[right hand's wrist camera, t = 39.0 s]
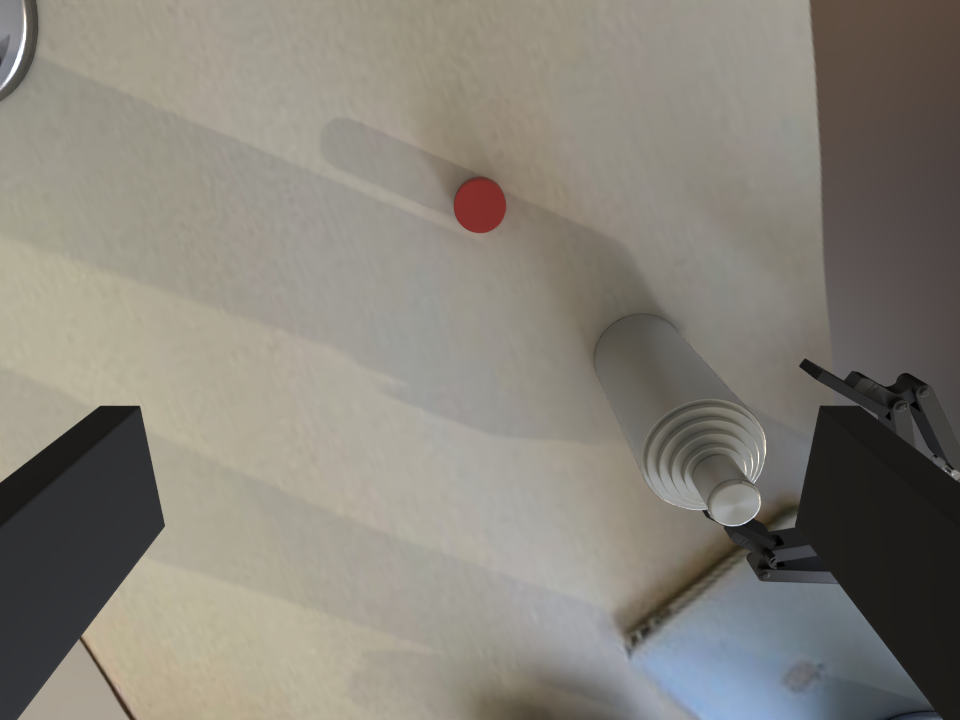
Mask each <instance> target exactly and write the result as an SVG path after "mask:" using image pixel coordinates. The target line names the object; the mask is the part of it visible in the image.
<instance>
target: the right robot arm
mask: <svg viewBox="0 0 960 720" xmlns="http://www.w3.org/2000/svg"><path fill="white" fill-rule="evenodd" d="M37 36H38V14H37V6H36V0H0V101H1V100H3V99H4V98H6V97H7V96H8V95H9V94H11V93H12V92H13V91H14V90H15V89H16V88H17V87H18V85H19V84H20V83H21V81H22V80H23V79H24V77H25V75H26V73H27V72H28V70H29V67H30V65H31V63H32V60H33V57H34V53H35V49H36V44H37ZM164 527H165V524H164V519H163V514H162V509H161V505H160V500H159V495H158V490H157V485H156V480H155V476H154V471H153V466H152V461H151V456H150V452H149V447H148V442H147V437H146V432H145V427H144V423H143V418H142V413H141V408H140V406H99V407H98V408H97V409H96V410H94V411H93V412H92V413H90V414H89V415H88V416H86V417H85V418H84V419H83V420H81V421H80V422H79V423H77V424H76V425H75V426H73V427H72V428H71V429H70V430H68V431H67V432H66V433H64V434H63V435H62V436H60V437H59V438H58V439H57V440H55V441H54V442H53V443H51V444H50V445H49V446H47V447H46V448H45V449H44V450H42V451H41V452H40V453H38V454H37V455H36V456H34V457H33V458H32V459H31V460H29V461H28V462H27V463H25V464H24V465H23V466H22V467H20V468H19V469H18V470H16V471H15V472H14V473H12V474H11V475H10V476H9V477H7V478H6V479H5V480H3V481H2V482H1V483H0V720H17V719H18V718H19V717H20V715H21V714H22V713H23V711H24V710H25V709H26V707H27V706H28V705H29V703H30V702H31V701H32V699H33V698H34V697H35V696H36V694H37V693H38V692H39V690H40V689H41V688H42V686H43V685H44V684H45V682H46V681H47V680H48V679H49V677H50V676H51V675H52V673H53V672H54V671H55V669H56V668H57V667H58V665H59V664H60V663H61V661H62V660H63V659H64V658H65V656H66V655H67V654H68V652H69V651H70V650H71V648H72V647H73V646H74V645H75V643H76V642H77V641H78V639H79V638H80V637H81V635H82V634H83V633H84V631H85V630H86V629H87V628H88V626H89V625H90V624H91V622H92V621H93V620H94V618H95V617H96V616H97V614H98V613H99V612H100V610H101V609H102V608H103V607H104V605H105V604H106V603H107V601H108V600H109V599H110V597H111V596H112V595H113V593H114V592H115V591H116V590H117V588H118V587H119V586H120V584H121V583H122V582H123V580H124V579H125V578H126V576H127V575H128V574H129V573H130V571H131V570H132V569H133V567H134V566H135V565H136V563H137V562H138V561H139V559H140V558H141V557H142V555H143V554H144V553H145V552H146V550H147V549H148V548H149V546H150V545H151V544H152V542H153V541H154V540H155V538H156V537H157V536H158V535H159V533H160V532H161V531H162V529H163V528H164ZM795 527H796V528H797V529H798V531H799V532H800V533H801V535H802V536H803V537H804V538H805V540H806V541H807V542H808V544H809V545H810V546H811V548H812V549H813V550H814V552H815V553H816V554H817V555H818V557H819V558H820V559H821V561H822V562H823V563H824V565H825V566H826V567H827V569H828V570H829V571H830V573H831V574H832V575H833V576H834V578H835V579H836V580H837V582H838V583H839V584H840V586H841V587H842V588H843V590H844V591H845V592H846V593H847V595H848V596H849V597H850V599H851V600H852V601H853V603H854V604H855V605H856V607H857V608H858V609H859V610H860V612H861V613H862V614H863V616H864V617H865V618H866V620H867V621H868V622H869V624H870V625H871V626H872V628H873V629H874V630H875V631H876V633H877V634H878V635H879V637H880V638H881V639H882V641H883V642H884V643H885V645H886V646H887V647H888V648H889V650H890V651H891V652H892V654H893V655H894V656H895V658H896V659H897V660H898V662H899V663H900V664H901V665H902V667H903V668H904V669H905V671H906V672H907V673H908V675H909V676H910V677H911V679H912V680H913V681H914V683H915V684H916V685H917V686H918V688H919V689H920V690H921V692H922V693H923V694H924V696H925V697H926V698H927V700H928V701H929V702H930V703H931V705H932V706H933V707H934V709H935V710H936V711H937V713H938V714H939V715H940V717H941V718H942V719H943V720H960V483H959V482H958V481H957V480H955V479H954V478H953V477H951V476H950V475H949V474H948V473H946V472H945V471H944V470H942V469H941V468H940V467H938V466H937V465H936V464H935V463H933V462H932V461H931V460H929V459H928V458H927V457H926V456H924V455H923V454H922V453H920V452H919V451H918V450H916V449H915V448H914V447H913V446H911V445H910V444H909V443H907V442H906V441H905V440H903V439H902V438H901V437H900V436H898V435H897V434H896V433H894V432H893V431H892V430H890V429H889V428H888V427H887V426H885V425H884V424H883V423H881V422H880V421H879V420H877V419H876V418H875V417H873V416H872V415H871V414H870V413H868V412H867V411H866V410H864V409H863V408H862V407H861V406H820V408H819V413H818V418H817V423H816V427H815V432H814V437H813V442H812V447H811V452H810V456H809V461H808V466H807V471H806V476H805V480H804V485H803V490H802V495H801V500H800V505H799V509H798V514H797V519H796V524H795Z"/></svg>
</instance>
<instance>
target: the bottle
mask: <svg viewBox="0 0 960 720" xmlns="http://www.w3.org/2000/svg"><path fill="white" fill-rule="evenodd" d="M594 366H595V370H596V373H597V375H598V378H599V380H600V382H601V384H602V387H603V389H604V391H605V393H606V395H607V398H608V400H609V402H610V404H611V407H612V409H613V411H614V413H615V415H616V418H617V420H618V422H619V424H620V427H621V429H622V431H623V433H624V436H625V438H626V440H627V442H628V444H629V447H630V449H631V451H632V453H633V456H634V458H635V460H636V462H637V464H638V467H639V469H640V471H641V473H642V476H643V478H644V480H645V482H646V484H647V485H648V487H649V488H650V489H651V490H652V492H653V493H654V494H656V495H657V496H658V497H659V498H661V499H662V500H664V501H666V502H668V503H670V504H672V505H675V506H678V507H682V508H686V509H691V510H706V509H707V511H708V513H709V515H710V516H711V517H712V518H713V519H714V520H715V521H717V522H719V523H720V524H723V525H726V526H738V525H742V524H745V523H747V522H748V521H750V520H751V519H752V518H753V517H754V516H755V515H756V514H757V512H758V510H759V508H760V506H761V494H760V492H759V490H758V489H757V488H756V486H755V485H754V482H755V481H756V480H757V478H758V476H759V474H760V472H761V470H762V468H763V464H764V459H765V454H766V439H765V434H764V431H763V429H762V426H761V425H760V423H759V421H758V420H757V419H756V417H755V416H754V415H753V414H752V413H751V412H750V410H749V409H748V408H747V407H746V406H745V405H744V404H743V403H742V402H741V401H740V399H739V398H738V397H737V396H736V395H735V394H734V393H733V392H732V391H731V390H730V388H729V387H728V386H727V385H726V384H725V383H724V382H723V381H722V380H721V379H720V377H719V376H718V375H717V374H716V373H715V372H714V371H713V370H712V369H711V368H710V366H709V365H708V364H707V363H706V362H705V361H704V360H703V359H702V358H701V357H700V355H699V354H698V353H697V352H696V351H695V350H694V349H693V348H692V347H691V345H690V344H689V343H688V342H687V341H686V340H685V339H684V338H683V337H682V336H681V334H680V333H679V332H678V331H677V330H676V329H675V328H674V327H673V326H672V325H671V324H670V323H669V322H667V321H666V320H664V319H662V318H660V317H657V316H654V315H649V314H637V315H631V316H628V317H625V318H623V319H620V320H618V321H617V322H615V323H614V324H612V325H611V326H610V327H609V328H608V329H607V330H606V331H605V332H604V333H603V334H602V336H601V337H600V339H599V341H598V343H597V345H596V349H595V353H594Z"/></svg>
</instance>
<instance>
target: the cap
mask: <svg viewBox="0 0 960 720" xmlns="http://www.w3.org/2000/svg"><path fill="white" fill-rule="evenodd" d="M505 211H506V202H505V198H504V195H503V192H502V190H501V188H500V187H499V186H498V184H496V183H495V182H494V181H492V180H491V179H488V178H484V177H475V178H472V179H469V180H467V181H466V182H465V183H463V184H462V185H461V187H460V188H459V190H458V192H457V194H456V197H455V201H454V212H455V215H456V218H457V220H458V221H459V223H460V224H461V225H462V226H463V227H464V228H466V229H467V230H469V231H472V232H475V233H485V232H488V231H491V230H493V229H494V228H496V227H497V226H498V225H499V224H500V223H501V221H502V220H503V218H504V215H505Z"/></svg>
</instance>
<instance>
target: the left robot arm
mask: <svg viewBox="0 0 960 720" xmlns="http://www.w3.org/2000/svg"><path fill="white" fill-rule="evenodd" d="M799 367H800V368H802V369H803V370H804V371H806V372H807V373H808V374H810V375H811V376H812V377H813V378H815V379H816V380H818V381H820V382H821V383H823V384H825V385H826V386H828V387H830V388H832V389H833V390H835V391H837V392H839V393H840V394H842V395H844V396H846V397H847V398H849V399H851V400H853V401H854V402H856V403H858V404H860V405H861V406H863V407H865V408H867V409H868V410H870V411H872V412H873V413H875V414H877V415H878V420H879V421H880V422H881V423H883V424H884V425H885V426H887V427H888V428H889V429H890V430H892V431H893V432H894V433H896V434H897V435H898V436H900V437H901V438H902V439H903V440H905V441H906V442H907V443H909V444H910V445H911V446H913V447H914V448H915V449H916V447H915V440H914V434H913V427H912V421H911V414H912V416H913V418H914V420H915V422H916V424H917V426H918V428H919V430H920V432H921V434H922V436H923V438H924V440H925V442H926V444H927V446H928V448H929V449H930V450H931V451H932V452H933V453H934V454H935V455H934V456H932V461H934V463H935V464H936V465H937V466H938V467H940V468H941V469H942V470H944V471H945V472H946V473H948V474H949V475H950V476H951V477H953V478H954V479H955V480H958V479H959V478H960V446H959V444H958V442H957V440H956V438H955V436H954V434H953V432H952V430H951V427H950V425H949V423H948V421H947V419H946V417H945V415H944V413H943V410H942V408H941V406H940V404H939V402H938V400H937V398H936V396H935V394H934V391H933V389H932V388H931V387H930V386H929V385H927V384H926V383H924V382H922V381H921V380H919V379H917V378H916V377H914V376H912V375H910V374H908V373H903V374H901V375H900V376H899V377H898V378H897V381H896V382H897V383H895V384H894V385H892V386H889V387H884V386H882V385H880V384H878V383H876V382H875V381H873V380H871V379H870V378H868V377H866V376H864V375H863V374H861V373H859V372H854V371H852V372H851V373H850V374H849V375H848V377H847V378H846V379H845V380H844V381H843V380H841V379H840V378H838V377H836V376H835V375H833V374H831V373H829V372H828V371H826V370H824V369H823V368H821V367H819V366H817V365H816V364H814V363H812V362H810V361H809V360H807V359H804V360H803V362H802V363H801V364H800V365H799ZM910 412H911V414H910ZM703 512H704V514H705V516H706V517H707V518H709V519H711V520H713V521H715V520H714V519H713V518H712V517H711V516H710V515H709V513H708V511H707V509H706V510H703ZM715 522H717V521H715ZM717 523H719V522H717ZM719 524H720V523H719ZM721 525H723V524H721ZM723 526H725V527H724V529H725V531H726V532H727V534H728V535H729V537H730V539H731V540H732V541H733V542H734V543H736V544H738V545H740V546H742V547H744V548H746V549H748V550H750V551H752V552H750V553H749V554H748V555H747V561H748V562H749V564H750V566H751V567H752V569H753V571H754V572H755V574H756V575H757V577H758V579H759V580H761V581H770V582H798V583H827V584H839V583H838V582H837V580H836V579H835V578H834V576H833V575H832V574H831V573H830V571H829V570H828V569H827V567H826V566H825V565H824V563H823V562H822V561H821V559H820V558H819V557H818V555H817V554H816V553H815V552H814V550H813V549H812V548H811V546H810V545H809V544H808V542H807V541H806V540H805V538H804V537H803V536H802V535H801V533H800V532H799V531H798V529H797V528H789V529H783V530H777V531H771V532H768V530H767V529H766V527H765V526H764V525H763V523H761V522H759V521H757V520H755V519H753V518H752V519H751V520H750V521H748V522H747V523H745V524H742V525H738V526H726V525H723ZM890 720H943V719H942V718H941V717H940V715H939V714H938V713H937V712H918V713H911V714H906V715H902V716H898V717H895V718H893V719H890Z"/></svg>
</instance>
